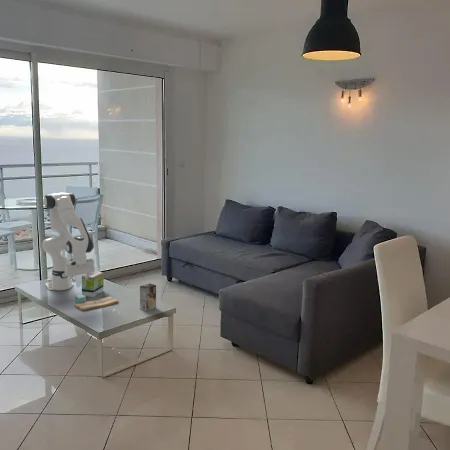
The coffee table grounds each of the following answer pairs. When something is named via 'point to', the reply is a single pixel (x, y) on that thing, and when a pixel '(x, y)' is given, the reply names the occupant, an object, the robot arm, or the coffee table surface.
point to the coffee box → (147, 297)
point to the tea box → (93, 284)
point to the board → (96, 303)
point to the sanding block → (80, 298)
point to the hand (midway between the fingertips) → (80, 280)
